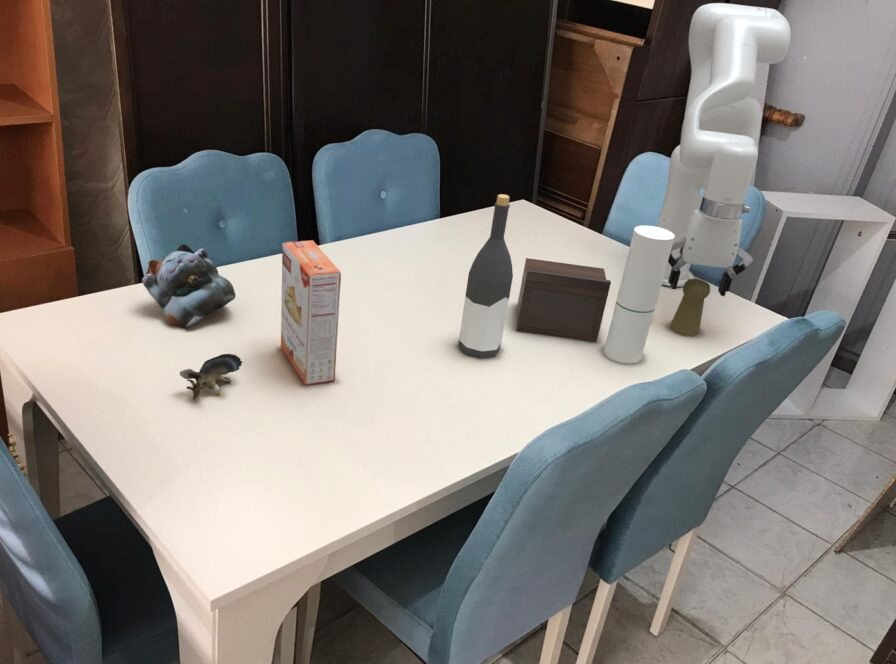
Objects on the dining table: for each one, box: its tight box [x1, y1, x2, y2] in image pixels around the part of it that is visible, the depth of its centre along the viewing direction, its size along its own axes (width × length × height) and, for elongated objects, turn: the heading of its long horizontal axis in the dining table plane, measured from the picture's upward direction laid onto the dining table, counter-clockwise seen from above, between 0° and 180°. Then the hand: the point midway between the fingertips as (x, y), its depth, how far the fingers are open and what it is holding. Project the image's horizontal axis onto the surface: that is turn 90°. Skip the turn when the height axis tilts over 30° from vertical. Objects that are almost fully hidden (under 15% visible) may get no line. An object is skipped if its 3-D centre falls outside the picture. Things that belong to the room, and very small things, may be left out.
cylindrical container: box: [603, 224, 675, 365], centre depth 157 cm, size 7×7×25 cm
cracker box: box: [280, 239, 342, 386], centre depth 144 cm, size 14×6×21 cm, turn 23°
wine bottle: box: [458, 193, 514, 359], centre depth 153 cm, size 8×8×30 cm
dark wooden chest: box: [515, 257, 612, 343], centre depth 170 cm, size 12×16×13 cm
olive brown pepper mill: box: [669, 278, 711, 337], centre depth 173 cm, size 6×6×11 cm
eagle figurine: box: [179, 353, 243, 401], centre depth 138 cm, size 8×7×9 cm
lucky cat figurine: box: [141, 243, 237, 329], centre depth 161 cm, size 15×12×14 cm
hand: (696, 290), depth 171 cm, fingers open, 9 cm apart
